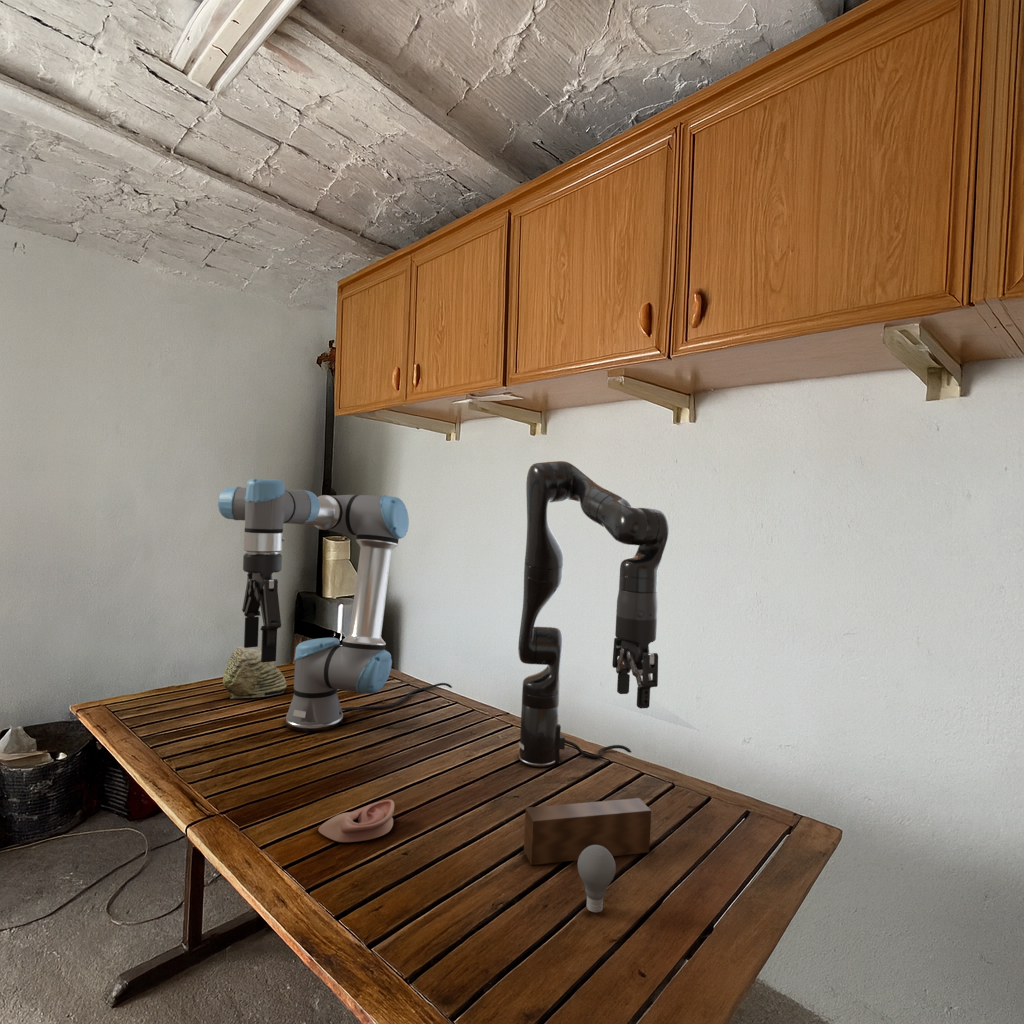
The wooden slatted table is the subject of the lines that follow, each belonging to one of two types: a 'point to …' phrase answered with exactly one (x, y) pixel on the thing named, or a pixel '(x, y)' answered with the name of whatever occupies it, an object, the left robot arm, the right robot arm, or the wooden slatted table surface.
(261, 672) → the fossil
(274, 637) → the left robot arm
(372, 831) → the anatomical model
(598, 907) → the light bulb
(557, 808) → the bar
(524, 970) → the wooden slatted table surface
